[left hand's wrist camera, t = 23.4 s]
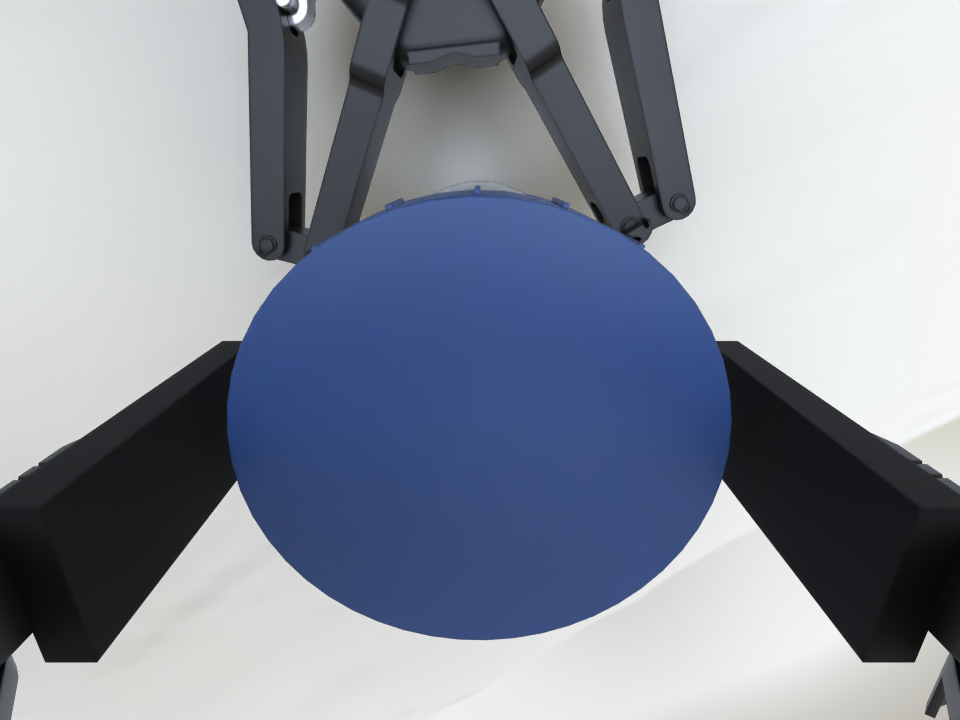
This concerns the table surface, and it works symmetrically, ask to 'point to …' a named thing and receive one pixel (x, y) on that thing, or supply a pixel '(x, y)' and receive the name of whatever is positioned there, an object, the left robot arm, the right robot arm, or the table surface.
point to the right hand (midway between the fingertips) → (489, 400)
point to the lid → (479, 416)
